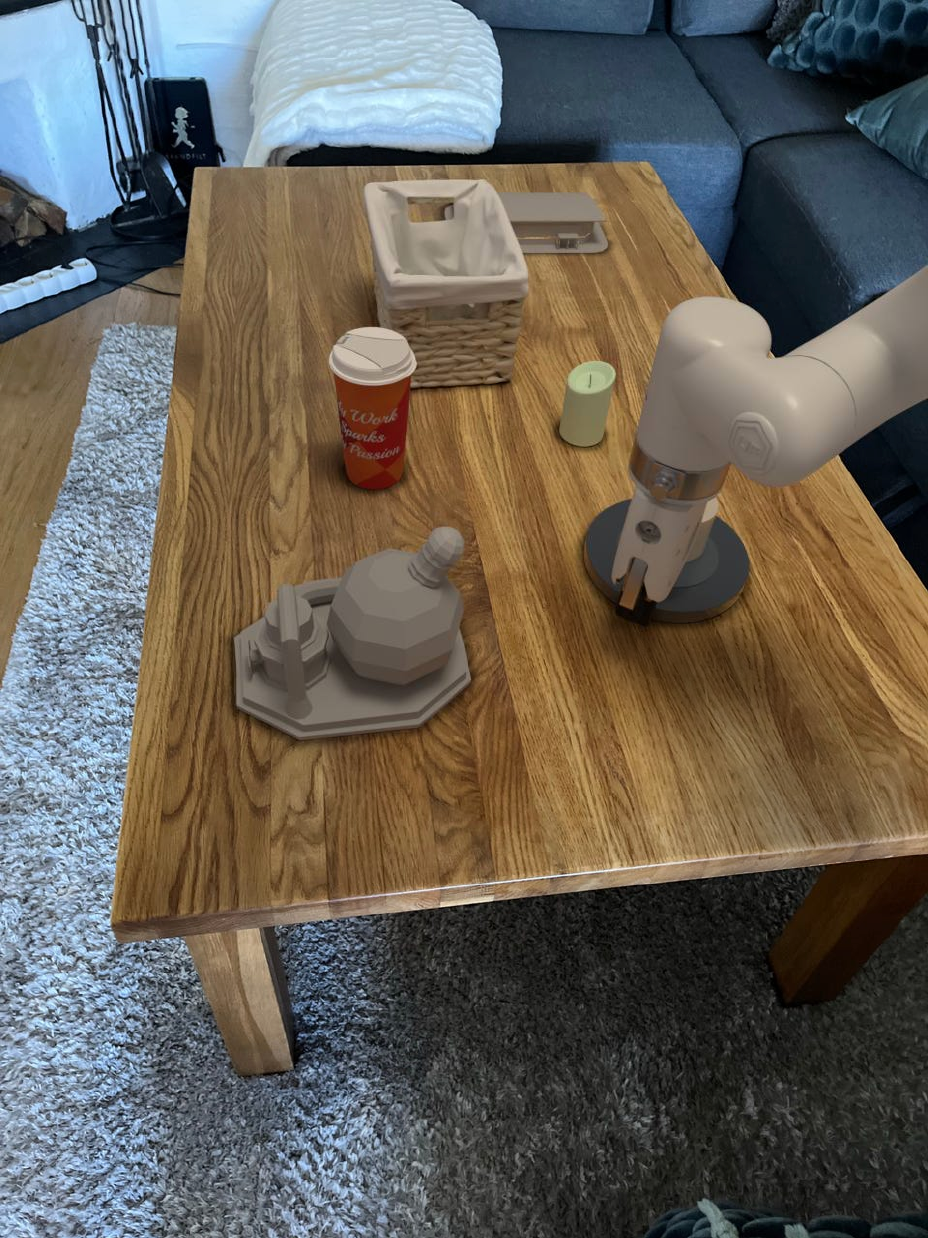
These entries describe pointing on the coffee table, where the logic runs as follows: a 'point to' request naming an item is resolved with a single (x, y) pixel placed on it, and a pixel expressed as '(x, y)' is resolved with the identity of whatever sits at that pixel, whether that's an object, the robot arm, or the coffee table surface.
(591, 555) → the plate
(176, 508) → the coffee table surface
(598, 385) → the candle
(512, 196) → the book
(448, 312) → the basket
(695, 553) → the short beige cylinder
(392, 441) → the coffee cup
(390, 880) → the coffee table surface
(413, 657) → the grey faceted model
